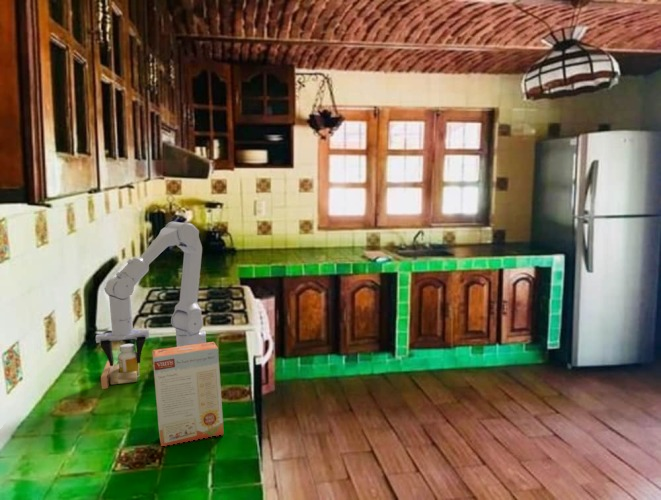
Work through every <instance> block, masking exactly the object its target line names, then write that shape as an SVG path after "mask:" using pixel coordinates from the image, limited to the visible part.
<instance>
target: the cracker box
mask: <svg viewBox="0 0 661 500" xmlns="http://www.w3.org/2000/svg"><path fill="white" fill-rule="evenodd" d="M151 353H152V364H153V377H154V389H155V390H154V391H155V400H156V401H155V402H156V411H157V413H156V415H157V424H158V433H159V441H160V446H165V447H168V446H167V445H170V446H173V444H175V445H178V444H177V443H180V444H184V443H183V442H185V443H189V442H188V441H190V442H194V441H193V440H195V441H199V440H198V439H200V440H204V439H203V438H205V439H209V438H208V437H211V438H213V437H212V436H216V437H220V436H219V435H221V436H224V435H223V434H224V433H225V432H224V420H223V419H224V415H223V404H222V403H223V402H222V401H223V400H222V389H221V373H220V360H219V359H220V358H219V348H218V346H217V344H216V343H215V341H210V342H206V343H201V344H194V345H187V346H179V347H177V346H175V347H167V348H158V349H152V351H151Z"/></svg>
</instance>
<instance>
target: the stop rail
mask: <svg viewBox="0 0 661 500" xmlns="http://www.w3.org/2000/svg"><path fill="white" fill-rule="evenodd" d="M113 366H114V365H113ZM113 366H110V363H109V360H107V361H106V364H105V365H104V368H103V370H102V373H101V375H100V382H101V389H102V390H105V389H109V386H110V384H111V380H110V375H111V372H112V369H113Z"/></svg>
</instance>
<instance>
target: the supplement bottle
mask: <svg viewBox="0 0 661 500" xmlns="http://www.w3.org/2000/svg"><path fill="white" fill-rule="evenodd" d="M119 351H120V352H119V354H118V356H117V358H118V364H119V370H120V373H121V372H131V371H137V379H138V378H139V377H140V364H139V365H138V363H137V350H136V351H135V344H133V343H125V344H121V345H119Z"/></svg>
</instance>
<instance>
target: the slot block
mask: <svg viewBox="0 0 661 500" xmlns="http://www.w3.org/2000/svg"><path fill="white" fill-rule="evenodd" d="M138 365H139V366H140V363H138ZM135 382H138V378H137V371H131V372H121V373H120V370H119V363H114V364H113V369H112V372H111V375H110V385H117V384H128V383H135Z"/></svg>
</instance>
